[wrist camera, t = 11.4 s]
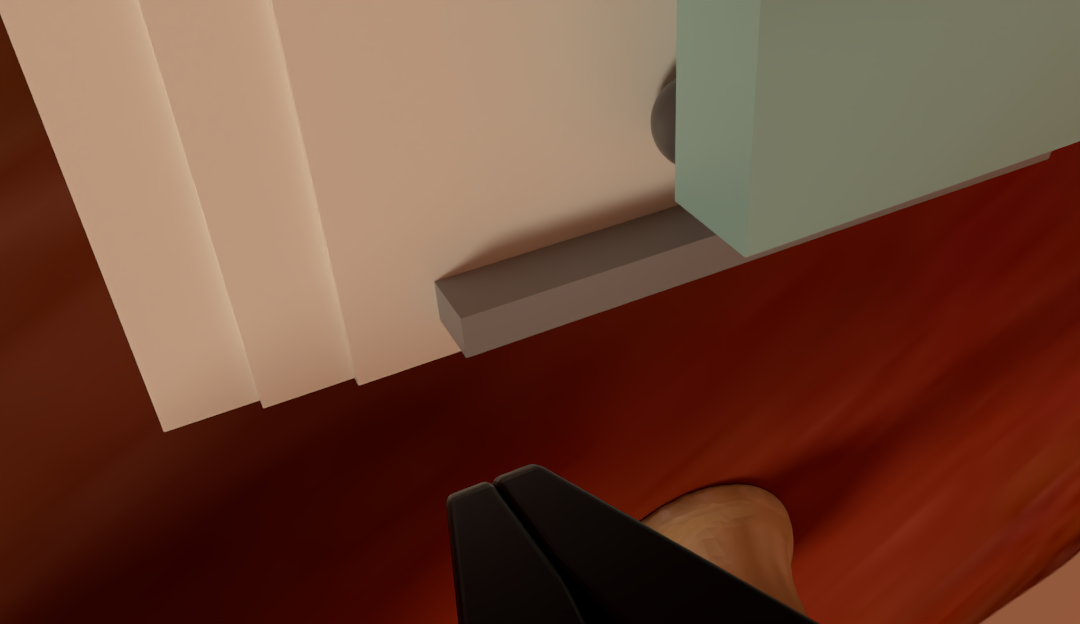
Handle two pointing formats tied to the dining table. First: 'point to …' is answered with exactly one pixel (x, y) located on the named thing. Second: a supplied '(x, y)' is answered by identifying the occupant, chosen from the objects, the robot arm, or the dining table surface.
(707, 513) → the hand bell
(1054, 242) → the dining table surface
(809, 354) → the dining table surface
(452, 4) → the dock
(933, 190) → the sage green box
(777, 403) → the dining table surface
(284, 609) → the dining table surface
